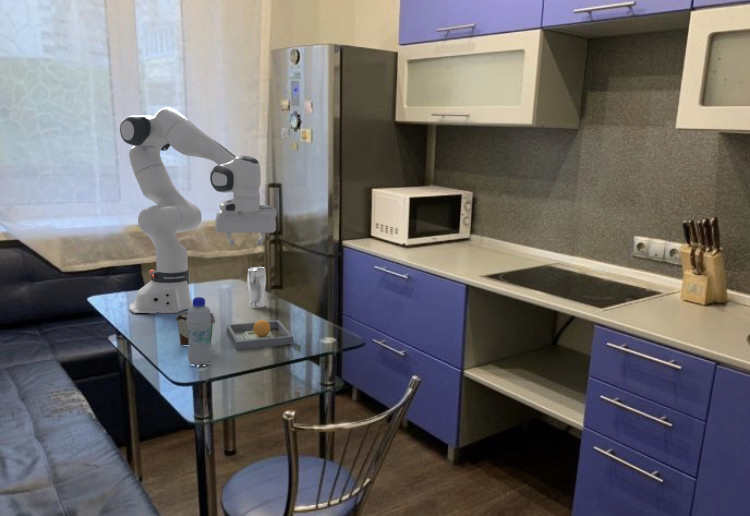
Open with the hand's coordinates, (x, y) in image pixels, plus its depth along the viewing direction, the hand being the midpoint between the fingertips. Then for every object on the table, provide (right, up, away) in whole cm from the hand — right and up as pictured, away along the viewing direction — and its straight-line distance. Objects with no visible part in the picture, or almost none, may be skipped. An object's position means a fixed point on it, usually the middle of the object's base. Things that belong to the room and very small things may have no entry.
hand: (245, 245), depth 201 cm
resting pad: (+6, -31, -9) cm, 32 cm away
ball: (+7, -28, -9) cm, 30 cm away
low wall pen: (+6, -31, -9) cm, 32 cm away
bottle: (-6, -35, -33) cm, 49 cm away
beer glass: (-2, -23, +26) cm, 35 cm away
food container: (-11, -32, -16) cm, 37 cm away
